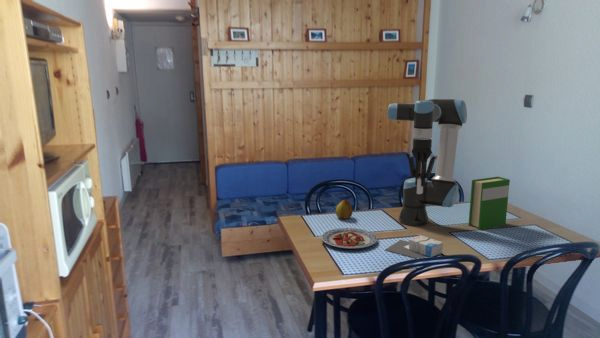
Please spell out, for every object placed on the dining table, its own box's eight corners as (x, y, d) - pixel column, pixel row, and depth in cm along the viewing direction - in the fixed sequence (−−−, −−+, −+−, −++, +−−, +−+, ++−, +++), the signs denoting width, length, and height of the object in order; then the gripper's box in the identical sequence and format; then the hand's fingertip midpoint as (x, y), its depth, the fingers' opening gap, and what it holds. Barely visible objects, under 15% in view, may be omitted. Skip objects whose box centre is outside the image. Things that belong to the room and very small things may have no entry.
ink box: (431, 246, 183) (403, 237, 194) (430, 257, 184) (402, 247, 195) (443, 241, 188) (415, 232, 199) (442, 252, 189) (414, 243, 200)
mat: (384, 250, 193) (384, 249, 193) (400, 240, 205) (400, 239, 204) (425, 261, 181) (425, 260, 181) (440, 250, 193) (440, 249, 193)
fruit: (336, 215, 243) (336, 194, 240) (352, 215, 241) (352, 194, 239) (335, 220, 234) (335, 198, 232) (352, 220, 233) (352, 199, 231)
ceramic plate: (312, 236, 211) (312, 230, 211) (358, 229, 221) (358, 223, 220) (337, 256, 188) (337, 249, 187) (388, 247, 198) (388, 240, 197)
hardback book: (479, 229, 218) (483, 183, 213) (468, 225, 225) (471, 179, 220) (505, 224, 225) (509, 179, 220) (493, 220, 232) (497, 176, 227)
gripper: (403, 137, 183) (401, 192, 187) (433, 140, 174) (430, 197, 179) (411, 136, 188) (409, 189, 193) (441, 138, 180) (438, 194, 185)
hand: (419, 193), depth 186 cm, fingers closed
